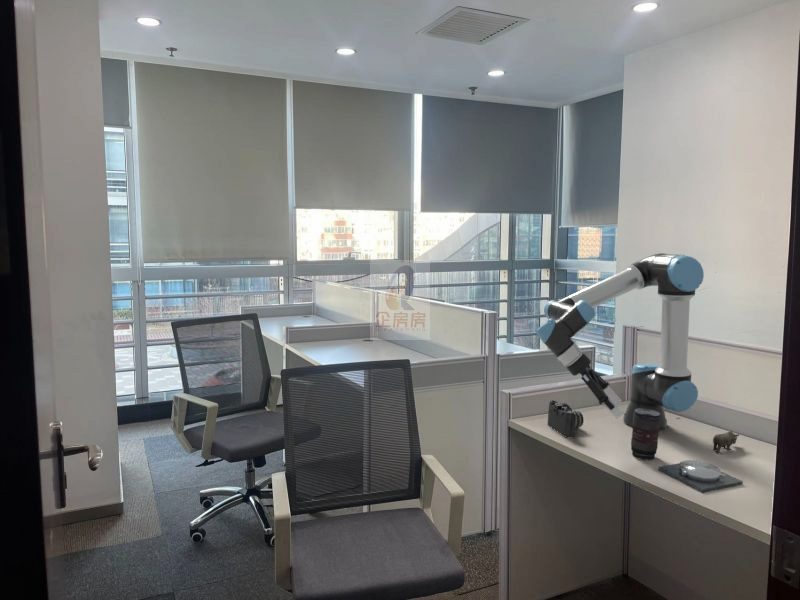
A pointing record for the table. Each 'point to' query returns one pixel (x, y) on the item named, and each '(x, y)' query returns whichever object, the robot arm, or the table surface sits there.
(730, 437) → the rhino figurine
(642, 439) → the camera lens
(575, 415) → the camera
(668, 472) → the mount
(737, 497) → the table surface
